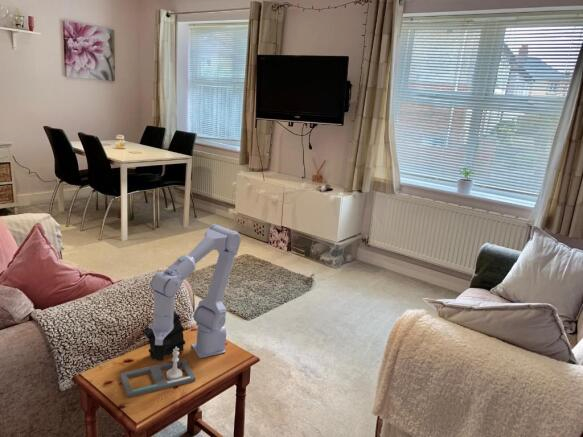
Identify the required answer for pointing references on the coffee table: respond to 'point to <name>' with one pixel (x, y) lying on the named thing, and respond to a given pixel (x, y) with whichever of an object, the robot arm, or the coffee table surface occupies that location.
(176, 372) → the chess piece
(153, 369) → the port panel
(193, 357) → the coffee table surface
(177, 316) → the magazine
